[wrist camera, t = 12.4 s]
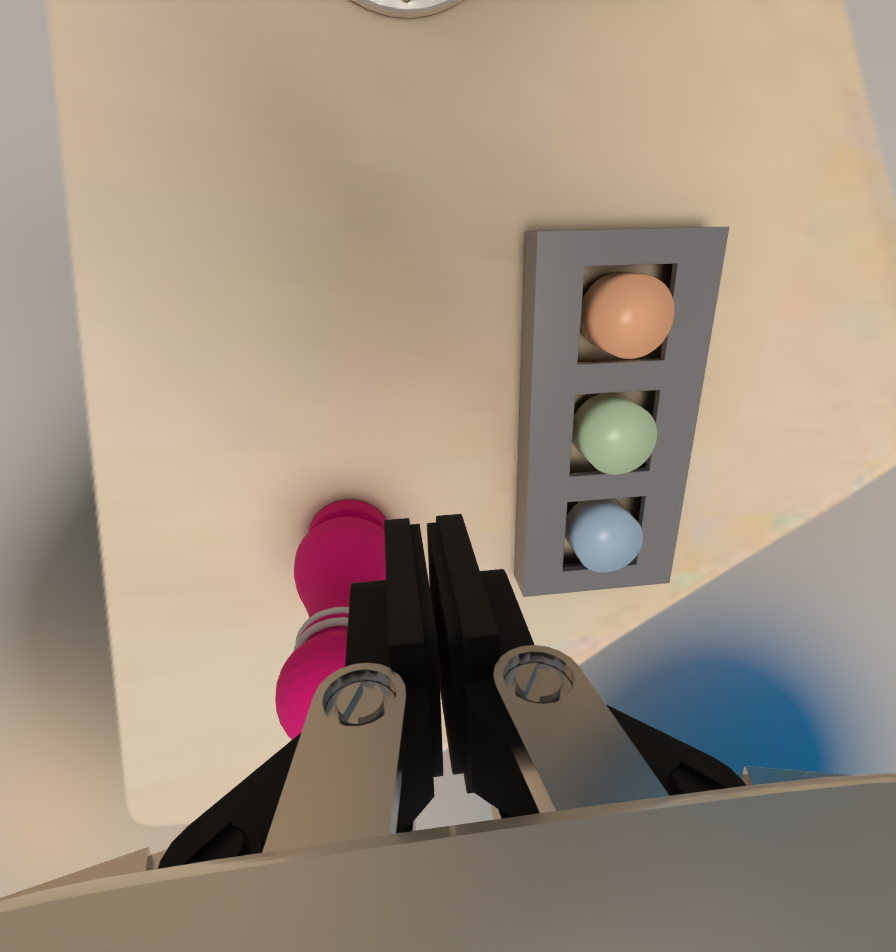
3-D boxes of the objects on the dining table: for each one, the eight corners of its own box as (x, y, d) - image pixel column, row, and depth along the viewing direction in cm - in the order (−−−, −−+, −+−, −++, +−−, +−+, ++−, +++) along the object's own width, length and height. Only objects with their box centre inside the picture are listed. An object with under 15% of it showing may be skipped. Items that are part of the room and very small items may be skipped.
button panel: (524, 232, 35) (537, 231, 32) (702, 227, 36) (729, 226, 33) (514, 575, 45) (523, 596, 42) (652, 562, 46) (669, 582, 44)
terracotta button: (582, 273, 35) (599, 276, 32) (656, 270, 35) (680, 273, 33) (576, 351, 37) (592, 360, 34) (646, 348, 37) (668, 356, 35)
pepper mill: (410, 507, 41) (438, 717, 23) (380, 584, 44) (385, 828, 26) (317, 481, 40) (268, 686, 21) (291, 562, 42) (227, 809, 24)
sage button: (573, 394, 38) (588, 406, 35) (641, 390, 38) (661, 402, 36) (568, 460, 40) (582, 477, 37) (633, 456, 40) (652, 471, 38)
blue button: (566, 497, 41) (579, 516, 38) (629, 492, 42) (646, 510, 39) (562, 554, 43) (574, 575, 40) (622, 548, 44) (638, 569, 41)
